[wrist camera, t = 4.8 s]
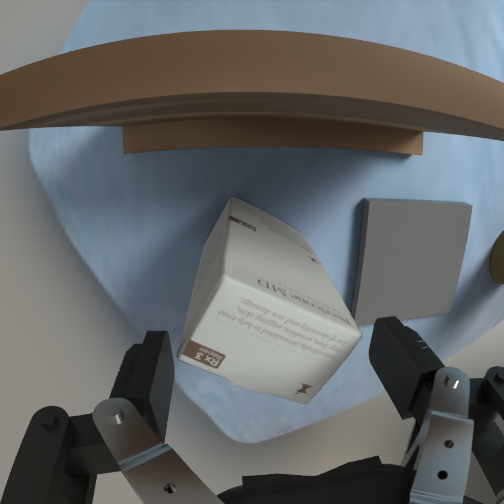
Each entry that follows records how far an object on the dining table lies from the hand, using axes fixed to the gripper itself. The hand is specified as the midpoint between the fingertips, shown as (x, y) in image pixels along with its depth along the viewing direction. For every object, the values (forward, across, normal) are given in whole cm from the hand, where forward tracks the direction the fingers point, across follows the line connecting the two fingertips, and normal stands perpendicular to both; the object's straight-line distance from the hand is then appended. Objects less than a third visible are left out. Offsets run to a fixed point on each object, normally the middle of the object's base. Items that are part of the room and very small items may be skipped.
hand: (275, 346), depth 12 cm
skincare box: (+12, 0, 0) cm, 12 cm away
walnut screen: (+11, -2, -9) cm, 15 cm away
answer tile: (+11, -13, +2) cm, 17 cm away
